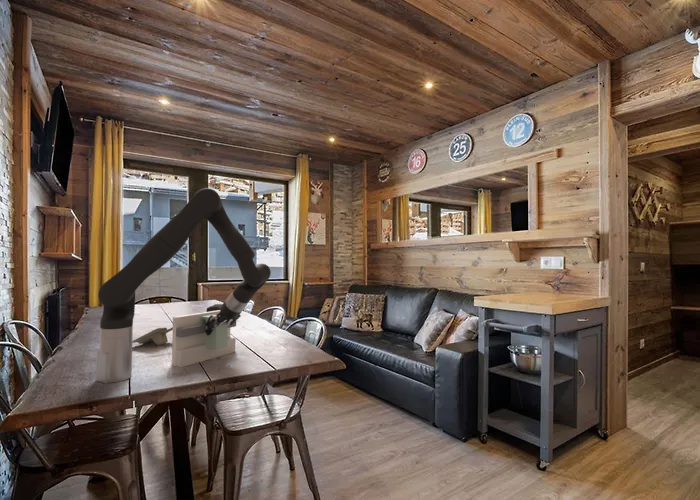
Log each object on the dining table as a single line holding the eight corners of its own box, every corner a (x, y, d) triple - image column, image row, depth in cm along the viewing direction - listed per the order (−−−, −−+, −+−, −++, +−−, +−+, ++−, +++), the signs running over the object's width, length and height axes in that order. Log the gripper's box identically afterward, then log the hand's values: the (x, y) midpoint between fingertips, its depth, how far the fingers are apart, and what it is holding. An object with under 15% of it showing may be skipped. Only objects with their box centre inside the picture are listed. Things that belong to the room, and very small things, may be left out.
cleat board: (181, 367, 134) (182, 318, 135) (171, 365, 137) (172, 317, 137) (235, 351, 157) (236, 309, 157) (226, 350, 160) (227, 308, 160)
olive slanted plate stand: (136, 359, 157) (162, 337, 157) (126, 343, 159) (152, 321, 159) (161, 355, 174) (185, 335, 174) (151, 340, 176) (175, 320, 176)
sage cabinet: (215, 349, 140) (216, 318, 140) (200, 346, 145) (201, 316, 145) (227, 346, 145) (227, 316, 145) (212, 343, 149) (212, 314, 150)
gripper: (244, 295, 147) (223, 322, 153) (214, 298, 134) (193, 327, 140) (253, 309, 144) (232, 336, 150) (224, 314, 132) (202, 343, 137)
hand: (213, 332), depth 145 cm, fingers closed on sage cabinet, 5 cm apart
